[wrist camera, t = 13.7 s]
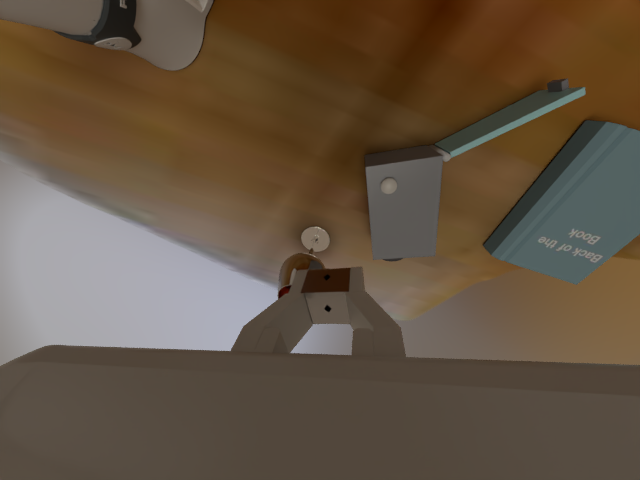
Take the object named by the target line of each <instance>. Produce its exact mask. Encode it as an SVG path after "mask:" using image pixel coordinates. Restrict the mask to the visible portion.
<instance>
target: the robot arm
mask: <svg viewBox="0 0 640 480" xmlns="http://www.w3.org/2000/svg"><path fill="white" fill-rule="evenodd" d="M212 3H213V0H0V19H2V20H7V21H12V22H17V23H22V24H26V25H31V26H36V27H40V28H45V29H49V30H53V31H54V32H56V33H58V34H60V35H62V36H64V37H66V38H69V39H73V40H76V41H80V42H84V43H88V44H92V45H95V46H97V47H101V48H106V49H112V50H125V51H128V52H130V53H133V54H135V55H137V56H139V57H141V58H143V59H145V60H147V61H148V62H150V63H151V64H153V65H155V66H157V67H159V68H162V69H165V70H180V69H183V68H185V67H187V66H188V65H189V64H191V63H192V62H193V60H194V59H195V58H196V56H197V55H198V53H199V50H200V48H201V45H202V41H203V35H204V25H205V19H206V16H207V14H208V12H209V10H210V8H211V6H212ZM326 323H327V324H350V325H351V326H352V328H353V330H354V331H353V341H352V355H328V354H299V353H290V352H291V351H292V350H293V348H294V347H295V346H296V345H297V343H298V342H299V341H300V340H301V339H302V337H303V336H304V335H305V334H306V332H307V331H308V330H309V329H310V328H311V326H312V324H326ZM0 480H640V365H619V364H589V363H562V362H559V363H558V362H532V361H501V360H473V359H444V358H415V357H406V354H405V349H404V344H403V338H402V332H401V328H400V327H399V326H398V324H396V322H395V321H394V320H393V319H392V318H391V317H390V316H389V315H388V314H387V313H386V312H385V311H384V310H383V309H382V308H381V307H380V306H379V305H378V304H377V303H376V302H375V300H374V299H373V298H372V297H371V296H370V295H369V294H368V293H367V292H365V286H364V276H363V268H362V267H351V268H339V269H309V270H298V271H297V273H296V275H295V278H294V280H293V283H292V286H291V288H290V291H289V293H288V294H284V295H283V296H282V297H281V298H279V299H278V300H277V301H276V302H274V303H273V304H272V305H270V306H269V307H268V308H267V309H265V310H264V311H263V312H261V313H260V314H259V315H258V316H256V317H255V318H254V319H252V320H251V321H250V322H249V323H247V324H246V325H245V326H244V327H243V328H242V330H241V332H240V334H239V336H238V338H237V340H236V342H235V344H234V345H233V347H232V349H231V351H209V350H178V349H149V348H121V347H93V346H66V345H49V346H44V347H42V348H39V349H36V350H34V351H32V352H29V353H27V354H25V355H23V356H20V357H18V358H16V359H14V360H12V361H10V362H8V363H6V364H3V365H2V366H0Z"/></svg>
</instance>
